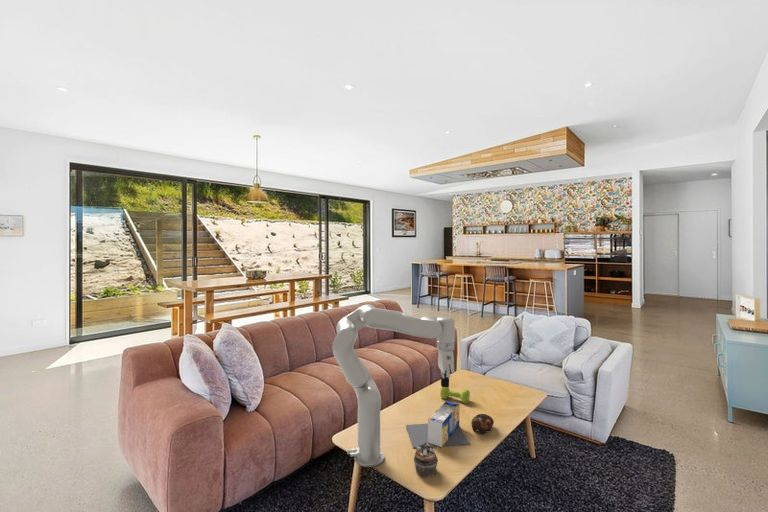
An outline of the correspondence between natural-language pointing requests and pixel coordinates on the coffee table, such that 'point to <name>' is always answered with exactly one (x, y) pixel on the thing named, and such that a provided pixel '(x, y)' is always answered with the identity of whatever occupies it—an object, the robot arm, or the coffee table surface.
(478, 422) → the decorative turtle
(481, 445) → the coffee table surface
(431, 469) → the cupcake
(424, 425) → the mat
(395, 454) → the coffee table surface
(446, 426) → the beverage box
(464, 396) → the dumbbell
